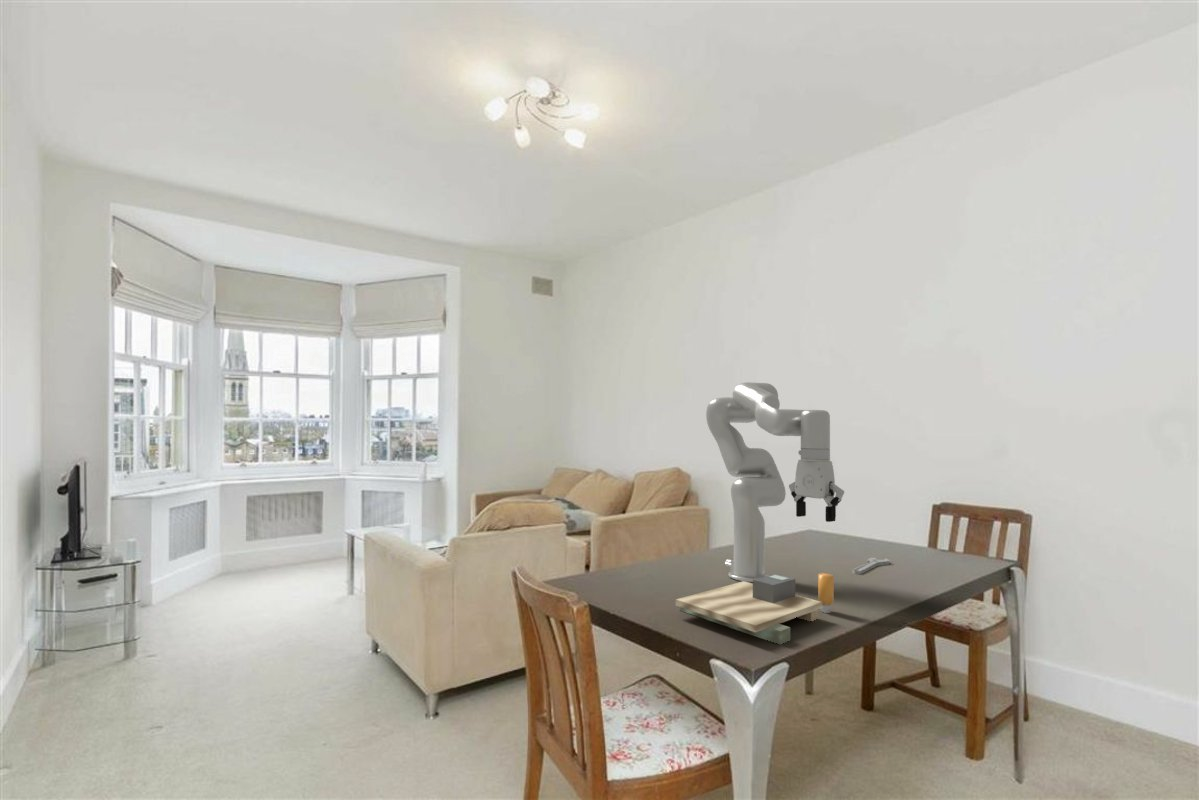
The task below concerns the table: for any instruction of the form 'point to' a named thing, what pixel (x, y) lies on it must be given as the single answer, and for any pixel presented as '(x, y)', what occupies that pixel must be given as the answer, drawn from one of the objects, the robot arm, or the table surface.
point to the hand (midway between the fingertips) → (815, 518)
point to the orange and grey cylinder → (826, 591)
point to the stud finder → (773, 588)
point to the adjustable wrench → (870, 565)
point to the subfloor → (749, 610)
